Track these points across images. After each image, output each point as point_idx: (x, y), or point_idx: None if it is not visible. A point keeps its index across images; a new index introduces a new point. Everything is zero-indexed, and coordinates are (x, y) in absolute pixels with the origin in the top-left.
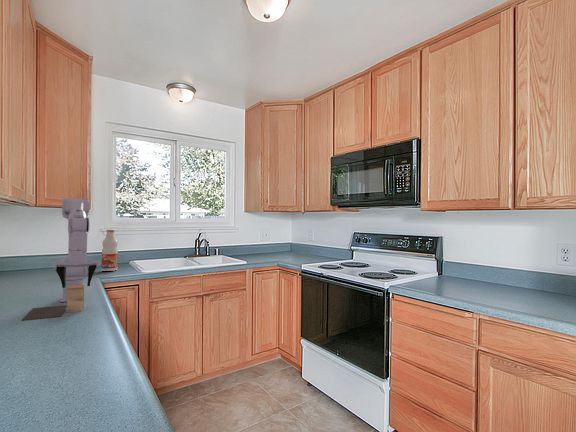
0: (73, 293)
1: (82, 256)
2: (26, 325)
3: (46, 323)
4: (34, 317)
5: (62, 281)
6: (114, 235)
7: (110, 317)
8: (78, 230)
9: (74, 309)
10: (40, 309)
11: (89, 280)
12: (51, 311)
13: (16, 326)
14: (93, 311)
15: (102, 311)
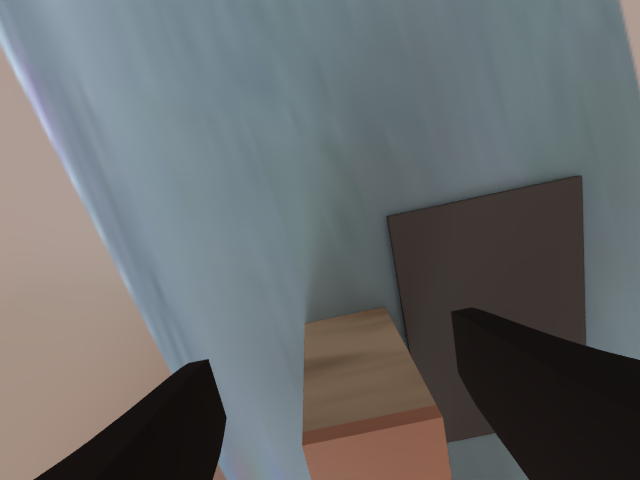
0: (375, 388)
1: None
2: (523, 59)
3: (422, 77)
4: (526, 211)
5: (525, 334)
6: None
7: (67, 129)
8: None
9: (347, 321)
10: None
11: (142, 402)
12: None
13: (571, 50)
14: (233, 297)
15: (177, 287)
